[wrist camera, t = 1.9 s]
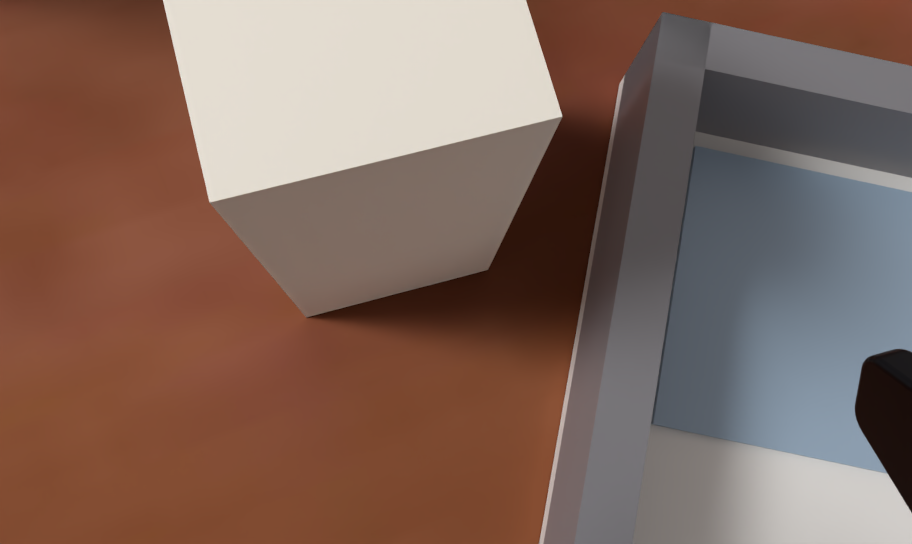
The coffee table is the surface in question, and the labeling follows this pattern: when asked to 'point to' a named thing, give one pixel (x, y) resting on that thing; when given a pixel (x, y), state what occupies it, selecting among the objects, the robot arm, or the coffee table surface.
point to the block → (365, 134)
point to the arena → (739, 298)
